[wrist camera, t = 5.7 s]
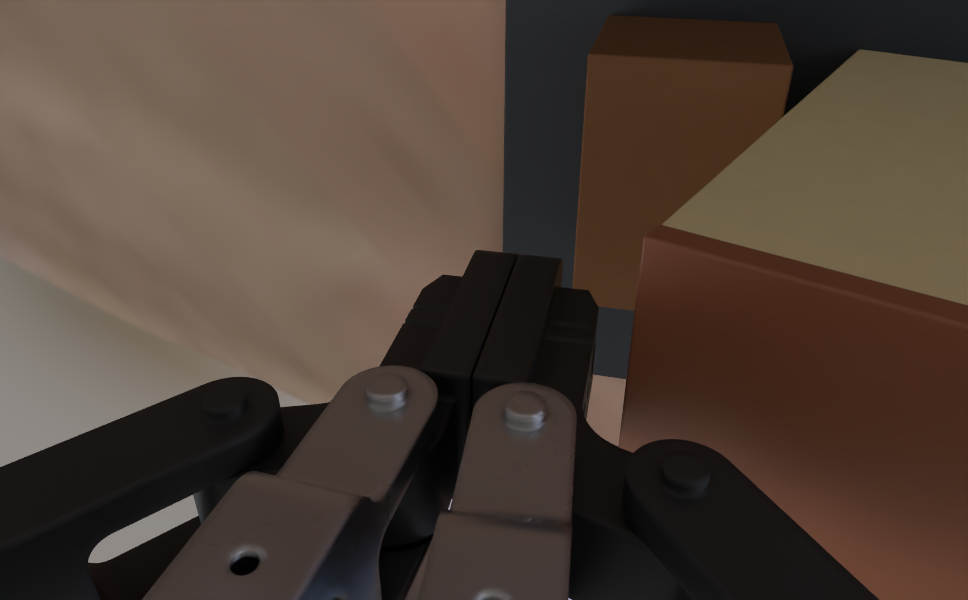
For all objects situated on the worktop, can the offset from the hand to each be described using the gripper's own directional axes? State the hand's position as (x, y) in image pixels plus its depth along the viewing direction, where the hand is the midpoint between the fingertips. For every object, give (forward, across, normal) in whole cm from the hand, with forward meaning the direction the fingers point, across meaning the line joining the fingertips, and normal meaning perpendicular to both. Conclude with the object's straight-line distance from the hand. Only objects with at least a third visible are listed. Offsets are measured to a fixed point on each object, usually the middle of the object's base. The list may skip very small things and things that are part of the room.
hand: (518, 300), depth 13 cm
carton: (+9, -6, 0) cm, 11 cm away
